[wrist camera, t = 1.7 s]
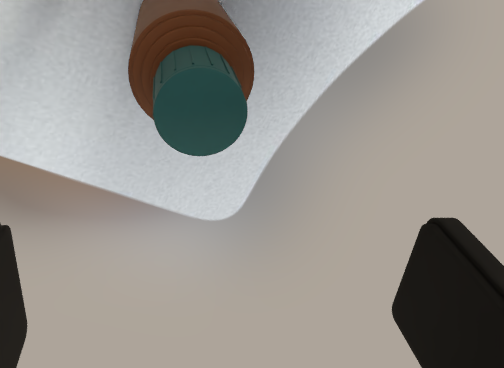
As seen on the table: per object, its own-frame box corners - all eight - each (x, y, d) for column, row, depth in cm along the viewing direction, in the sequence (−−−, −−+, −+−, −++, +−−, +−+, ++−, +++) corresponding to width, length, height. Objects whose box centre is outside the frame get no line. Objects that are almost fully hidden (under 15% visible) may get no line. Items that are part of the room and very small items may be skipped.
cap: (239, 47, 21) (253, 69, 18) (231, 125, 23) (243, 157, 20) (153, 41, 20) (152, 63, 17) (153, 122, 22) (152, 156, 19)
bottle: (227, -17, 33) (285, 38, 18) (220, 68, 36) (265, 178, 21) (137, -26, 32) (118, 25, 17) (138, 64, 35) (123, 176, 20)
